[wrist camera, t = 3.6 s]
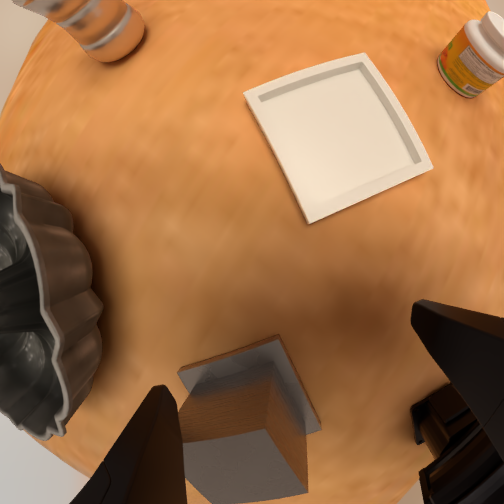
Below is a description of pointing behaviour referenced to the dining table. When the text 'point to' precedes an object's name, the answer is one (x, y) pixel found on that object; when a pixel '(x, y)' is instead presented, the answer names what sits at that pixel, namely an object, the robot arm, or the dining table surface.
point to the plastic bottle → (94, 24)
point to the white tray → (337, 134)
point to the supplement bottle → (475, 56)
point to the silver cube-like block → (246, 425)
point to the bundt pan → (43, 311)
